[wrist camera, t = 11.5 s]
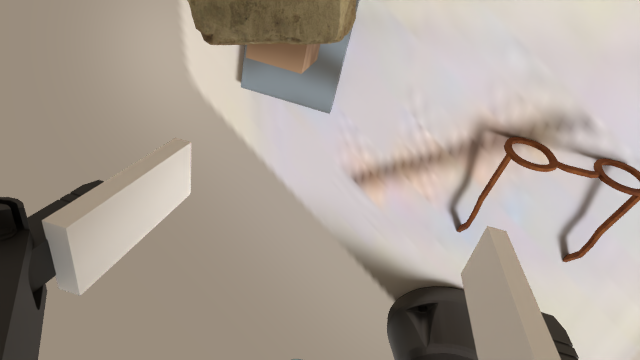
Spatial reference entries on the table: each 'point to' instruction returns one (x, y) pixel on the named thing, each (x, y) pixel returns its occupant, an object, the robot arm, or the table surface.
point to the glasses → (553, 164)
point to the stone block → (273, 21)
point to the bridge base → (298, 83)
